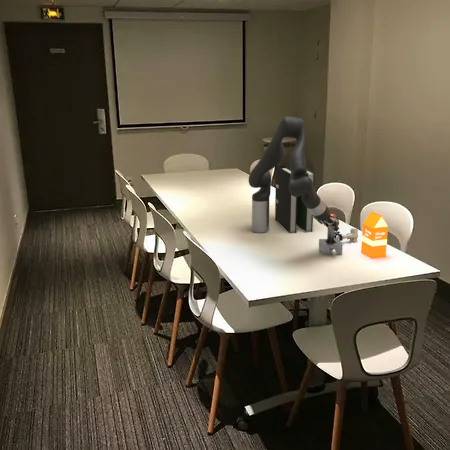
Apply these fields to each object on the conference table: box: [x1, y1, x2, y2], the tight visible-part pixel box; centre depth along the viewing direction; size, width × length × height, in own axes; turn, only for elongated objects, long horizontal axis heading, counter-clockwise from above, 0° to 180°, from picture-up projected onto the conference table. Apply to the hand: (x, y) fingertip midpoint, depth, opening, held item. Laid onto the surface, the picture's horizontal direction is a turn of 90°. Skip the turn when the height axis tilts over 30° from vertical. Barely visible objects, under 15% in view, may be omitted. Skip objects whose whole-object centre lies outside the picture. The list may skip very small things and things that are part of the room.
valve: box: [335, 227, 359, 244], centre depth 243 cm, size 7×7×12 cm
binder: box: [274, 164, 316, 234], centre depth 268 cm, size 27×15×32 cm, turn 9°
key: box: [326, 213, 337, 242], centre depth 227 cm, size 3×3×13 cm
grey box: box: [318, 238, 343, 256], centre depth 228 cm, size 9×13×5 cm
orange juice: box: [360, 210, 389, 259], centre depth 224 cm, size 8×9×20 cm
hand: (334, 229), depth 229 cm, fingers closed on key, 3 cm apart
